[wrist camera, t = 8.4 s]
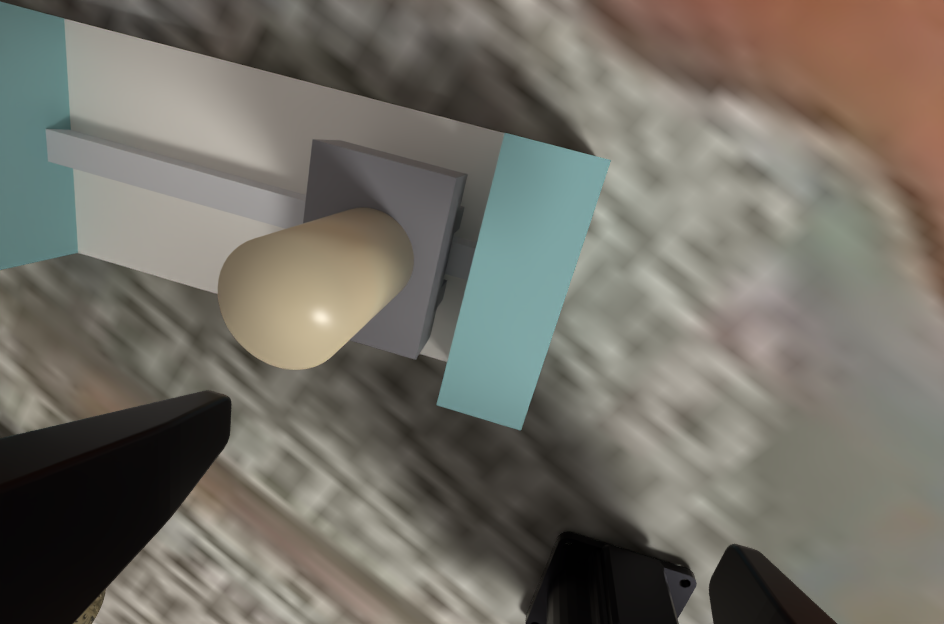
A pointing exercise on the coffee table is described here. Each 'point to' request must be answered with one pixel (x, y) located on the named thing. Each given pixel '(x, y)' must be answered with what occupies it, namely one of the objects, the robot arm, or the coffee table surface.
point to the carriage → (347, 261)
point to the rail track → (274, 186)
